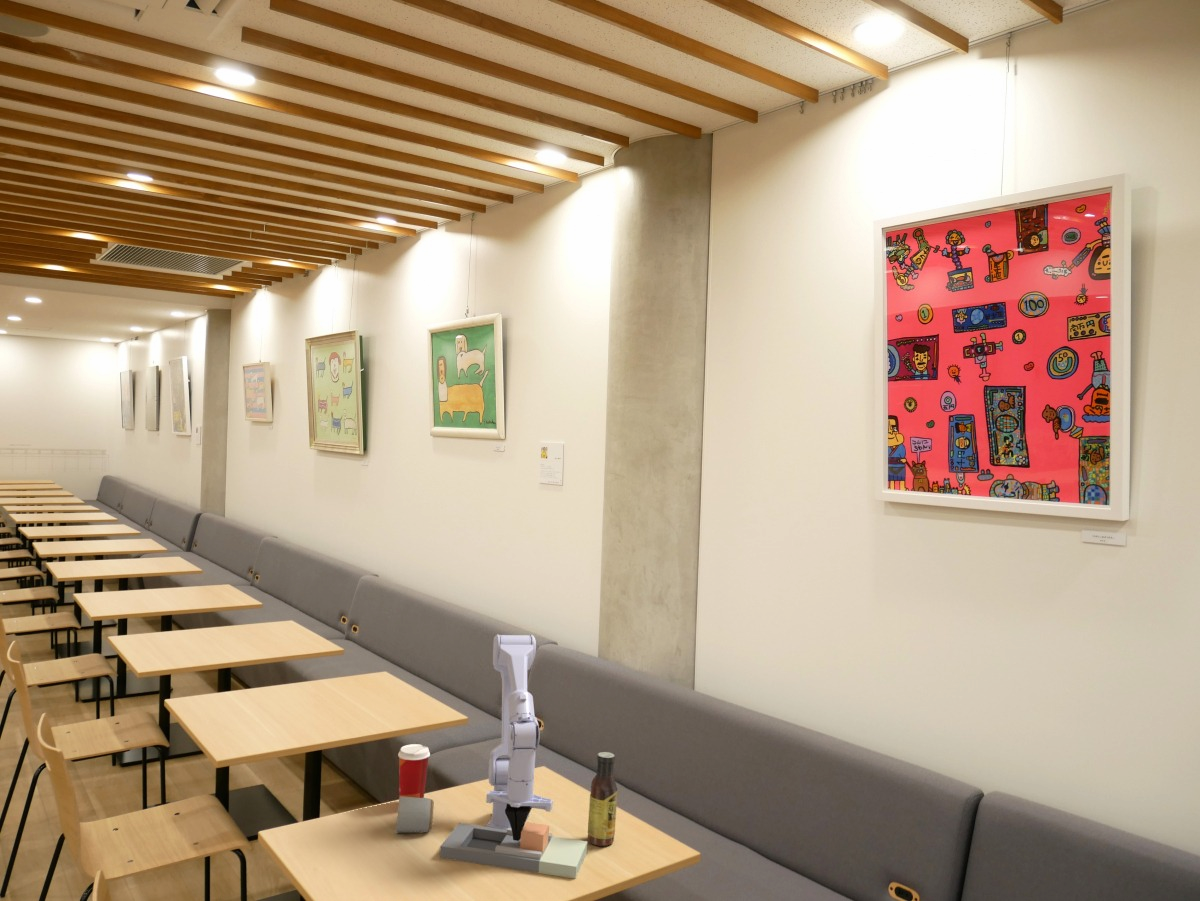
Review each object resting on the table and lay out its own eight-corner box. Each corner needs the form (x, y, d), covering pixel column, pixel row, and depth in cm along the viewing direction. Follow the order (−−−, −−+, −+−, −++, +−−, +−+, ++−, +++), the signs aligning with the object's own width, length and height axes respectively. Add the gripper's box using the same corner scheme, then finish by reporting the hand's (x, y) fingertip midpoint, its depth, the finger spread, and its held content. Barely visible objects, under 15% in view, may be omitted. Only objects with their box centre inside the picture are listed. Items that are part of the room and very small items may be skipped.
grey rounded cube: (432, 837, 197) (434, 803, 197) (395, 838, 195) (397, 804, 195) (431, 817, 207) (433, 785, 207) (396, 818, 205) (398, 786, 205)
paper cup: (413, 796, 218) (416, 741, 218) (433, 806, 213) (436, 749, 213) (388, 805, 212) (391, 748, 212) (407, 815, 207) (411, 757, 207)
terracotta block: (526, 840, 193) (527, 822, 193) (548, 843, 192) (549, 825, 192) (520, 850, 188) (521, 831, 188) (542, 853, 187) (543, 835, 187)
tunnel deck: (458, 833, 199) (459, 818, 199) (586, 852, 194) (587, 836, 194) (439, 857, 187) (440, 841, 187) (575, 878, 182) (576, 861, 182)
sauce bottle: (611, 849, 196) (616, 761, 196) (584, 845, 197) (589, 758, 197) (616, 836, 202) (621, 752, 202) (590, 832, 204) (595, 748, 204)
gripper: (483, 779, 188) (479, 841, 188) (548, 788, 185) (544, 851, 185) (493, 767, 195) (489, 827, 195) (556, 776, 192) (552, 837, 192)
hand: (517, 838), depth 190 cm, fingers closed
